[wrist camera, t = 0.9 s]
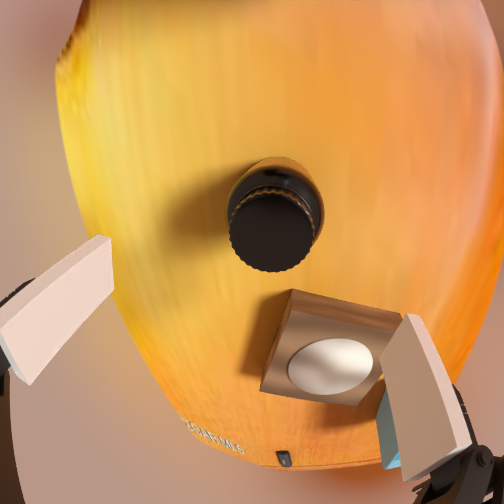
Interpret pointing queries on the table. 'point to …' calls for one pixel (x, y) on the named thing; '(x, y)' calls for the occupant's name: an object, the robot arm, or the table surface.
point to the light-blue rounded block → (387, 434)
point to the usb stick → (284, 458)
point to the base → (327, 349)
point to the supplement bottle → (274, 214)
